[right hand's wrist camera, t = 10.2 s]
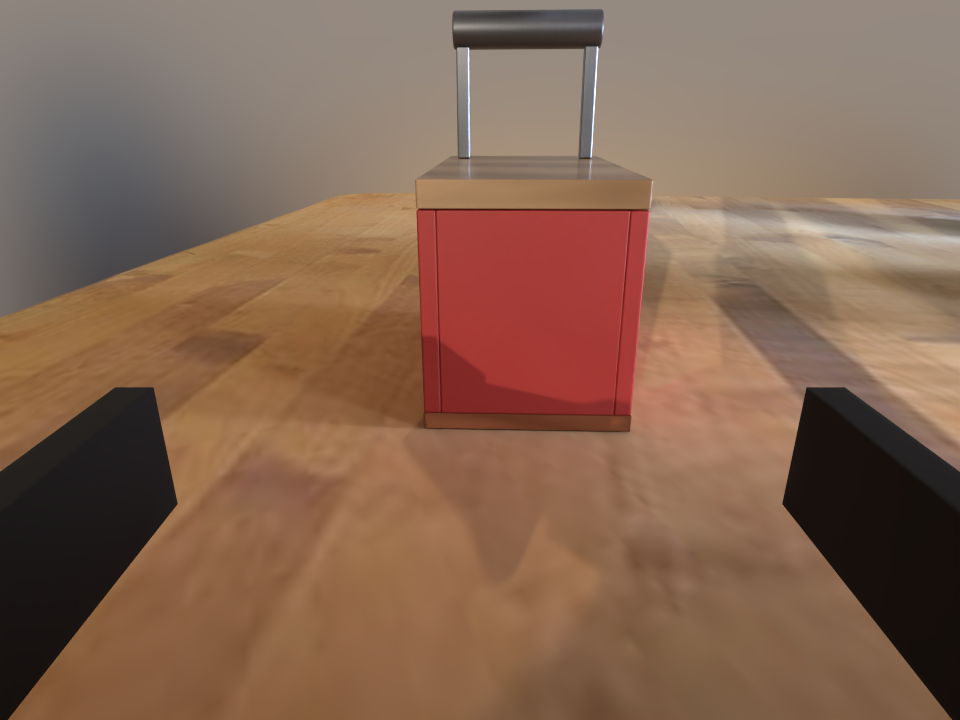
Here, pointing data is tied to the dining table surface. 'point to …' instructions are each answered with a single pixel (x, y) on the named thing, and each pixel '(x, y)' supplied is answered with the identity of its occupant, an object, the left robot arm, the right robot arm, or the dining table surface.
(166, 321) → the dining table surface
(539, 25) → the lid
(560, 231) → the chest
